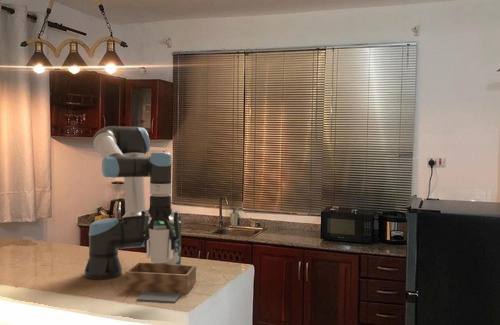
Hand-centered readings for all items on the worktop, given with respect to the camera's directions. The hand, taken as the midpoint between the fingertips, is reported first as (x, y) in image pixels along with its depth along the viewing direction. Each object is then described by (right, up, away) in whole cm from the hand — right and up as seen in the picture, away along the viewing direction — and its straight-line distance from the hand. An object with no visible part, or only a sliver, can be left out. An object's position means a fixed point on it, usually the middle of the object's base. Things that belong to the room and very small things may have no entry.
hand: (159, 257), depth 160 cm
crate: (-2, -14, +14) cm, 20 cm away
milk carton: (-3, -14, +31) cm, 34 cm away
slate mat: (0, -15, +1) cm, 15 cm away
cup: (0, -1, 0) cm, 1 cm away
